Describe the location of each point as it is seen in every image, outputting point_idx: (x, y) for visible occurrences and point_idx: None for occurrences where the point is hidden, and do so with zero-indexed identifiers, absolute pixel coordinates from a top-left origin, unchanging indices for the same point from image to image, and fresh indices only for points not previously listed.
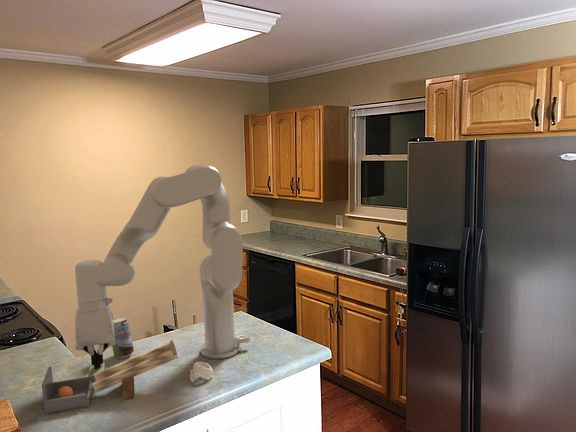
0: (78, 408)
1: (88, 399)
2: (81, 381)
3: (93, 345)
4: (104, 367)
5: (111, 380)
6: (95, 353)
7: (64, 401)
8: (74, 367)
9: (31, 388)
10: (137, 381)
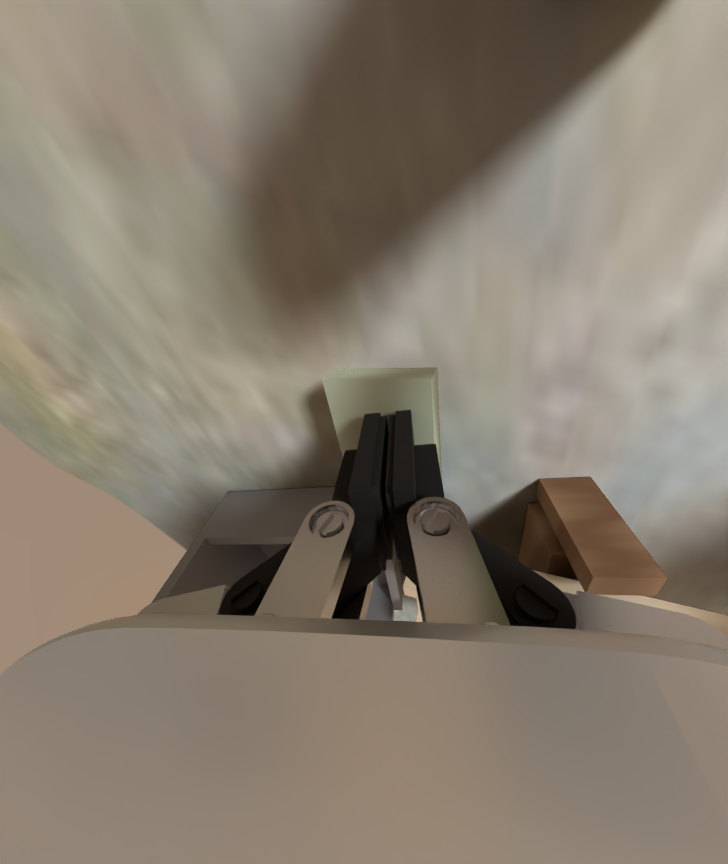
0: None
1: (400, 608)
2: None
3: (336, 585)
4: (438, 427)
5: None
6: (379, 548)
7: None
8: (139, 151)
9: (91, 418)
10: (612, 481)
